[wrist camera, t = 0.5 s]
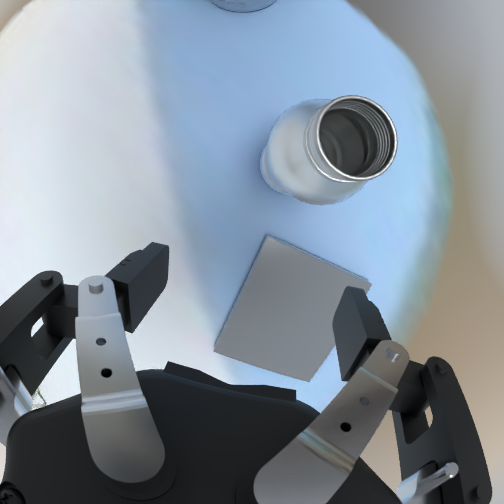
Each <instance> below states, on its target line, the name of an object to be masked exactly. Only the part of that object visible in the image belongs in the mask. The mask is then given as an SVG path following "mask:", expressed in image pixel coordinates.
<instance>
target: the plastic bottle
mask: <svg viewBox="0 0 504 504" xmlns="http://www.w3.org/2000/svg"><path fill="white" fill-rule="evenodd" d="M397 145H398V140H397V133H396V129H395V126H394V124H393V122H392V119H391V118H390V116H389V115H388V114H387V112H386V111H385V110H384V109H383V108H382V107H381V106H380V105H378V104H377V103H376V102H374V101H372V100H370V99H368V98H365V97H362V96H356V95H348V96H342V97H339V98H337V99H334V100H329V99H313V100H308V101H303V102H301V103H298V104H296V105H293V106H292V107H291V108H289V109H288V110H286V111H285V112H284V113H283V114H282V115H281V116H280V117H279V118H278V119H277V121H276V122H275V124H274V126H273V127H272V130H271V132H270V135H269V138H268V144H267V145H266V146H265V148H264V149H263V151H262V154H261V158H260V170H261V174H262V176H263V178H264V180H265V182H266V183H267V184H268V185H269V186H270V187H271V188H272V189H274V190H275V191H277V192H279V193H282V194H285V195H291V196H293V197H295V198H297V199H299V200H300V201H303V202H306V203H309V204H315V205H332V204H336V203H339V202H342V201H344V200H346V199H348V198H350V197H352V196H353V195H354V194H356V193H357V192H358V191H359V190H361V189H362V188H363V186H364V185H365V184H366V183H367V182H368V180H371V179H373V178H376V177H378V176H380V175H381V174H383V173H384V172H385V171H386V170H387V169H388V168H389V167H390V165H391V164H392V162H393V160H394V158H395V156H396V152H397Z"/></svg>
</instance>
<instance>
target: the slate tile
mask: <svg viewBox="0 0 504 504" xmlns="http://www.w3.org/2000/svg"><path fill="white" fill-rule="evenodd" d="M371 285H372V284H371V283H370V282H369V281H368V280H366V279H364V278H362V277H360V276H358V275H356V274H354V273H351V272H349V271H347V270H345V269H343V268H341V267H339V266H337V265H334V264H332V263H330V262H328V261H326V260H324V259H321V258H319V257H317V256H315V255H313V254H311V253H308V252H306V251H304V250H302V249H300V248H297V247H295V246H293V245H291V244H289V243H286V242H284V241H282V240H280V239H277V238H275V237H273V236H271V235H269V234H267V235H266V237H265V240H264V242H263V244H262V246H261V248H260V250H259V252H258V254H257V257H256V259H255V261H254V263H253V265H252V267H251V269H250V271H249V274H248V276H247V278H246V280H245V282H244V284H243V286H242V288H241V291H240V293H239V295H238V297H237V299H236V301H235V303H234V305H233V307H232V310H231V312H230V314H229V316H228V318H227V320H226V322H225V324H224V326H223V329H222V331H221V333H220V335H219V337H218V339H217V341H216V343H215V346H214V352H217V353H219V354H222V355H225V356H227V357H230V358H233V359H236V360H239V361H241V362H244V363H247V364H250V365H253V366H256V367H259V368H262V369H266V370H269V371H272V372H275V373H279V374H282V375H285V376H289V377H292V378H296V379H299V380H303V381H307V382H310V380H311V379H312V378H313V376H314V375H315V373H316V372H317V371H318V369H319V368H320V366H321V365H322V364H323V362H324V361H325V359H326V358H327V356H328V355H329V353H330V352H331V350H332V349H333V347H334V346H335V344H336V343H335V338H334V333H333V327H332V323H333V317H334V314H335V311H336V309H337V307H338V304H339V302H340V299H341V297H342V295H343V292H344V290H345V288H346V287H347V286H352V287H357V288H361V289H364V291H365V294H367V292H368V290H369V288H370V287H371Z"/></svg>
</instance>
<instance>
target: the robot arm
mask: <svg viewBox="0 0 504 504" xmlns="http://www.w3.org/2000/svg"><path fill="white" fill-rule="evenodd" d="M275 1H276V0H212V2H213V3H214V4H216V5H217V6H219V7H221V8H223V9H226V10H230V11H235V12H250V11H256V10H260V9H263V8H266V7H268V6H269V5H271V4H272V3H274V2H275ZM168 265H169V246H168V245H164V244H159V243H155V242H152V243H150V244H149V245H148V246H147V247H146V248H145V249H143V250H138V251H135V252H133V253H130V254H129V255H128V256H127V257H126V258H125V259H124V260H122V261H121V262H120V263H119V264H118V265H116V266H115V267H114V268H113V269H112V270H111V271H110V272H108V273H107V274H106V275H105V276H91V277H88V278H86V279H84V280H82V281H81V282H80V284H79V286H76V285H67V284H64V283H63V277H62V275H61V274H60V273H59V272H57V271H44V272H41V273H39V274H37V275H36V276H35V277H33V278H32V279H31V280H30V281H29V282H27V283H26V284H25V285H24V286H23V287H21V288H20V289H19V290H18V291H17V292H16V293H15V294H13V295H12V296H11V297H10V298H9V299H8V300H7V301H6V302H4V303H3V304H2V305H1V306H0V442H1V443H2V444H3V445H4V446H6V464H5V471H4V476H3V479H2V482H1V484H0V504H489V503H490V501H491V498H492V486H491V481H490V477H489V472H488V468H487V464H486V460H485V457H484V453H483V449H482V446H481V443H480V439H479V436H478V433H477V430H476V427H475V424H474V421H473V419H472V415H471V413H470V410H469V407H468V405H467V402H466V400H465V397H464V394H463V392H462V390H461V387H460V385H459V383H458V380H457V378H456V376H455V373H454V371H453V369H452V367H451V366H450V365H449V364H448V363H447V362H446V361H445V360H443V359H442V358H439V357H430V358H429V359H428V360H427V362H426V363H425V364H424V365H422V364H420V363H417V362H413V361H411V360H409V359H410V357H409V354H408V352H407V350H406V349H405V348H404V347H403V346H402V345H401V344H399V343H397V342H395V341H392V340H391V337H390V335H389V332H388V330H387V328H386V325H385V324H384V321H383V318H382V317H381V314H380V312H379V309H378V308H377V307H376V306H375V305H374V304H373V303H372V302H371V301H369V300H368V298H367V296H366V294H365V291H364V289H361V288H357V287H352V286H347V287H346V288H345V290H344V292H343V295H342V297H341V299H340V302H339V304H338V307H337V309H336V311H335V314H334V317H333V323H332V327H333V333H334V338H335V343H336V349H337V355H338V361H339V367H340V373H341V379H342V381H348V383H347V384H346V385H345V386H344V387H343V389H342V390H341V391H340V392H339V393H338V394H337V396H336V397H335V398H334V399H333V400H332V401H331V402H330V404H329V405H328V406H327V407H326V408H325V409H324V410H323V411H322V412H321V414H320V413H319V412H318V411H317V410H315V409H314V408H313V407H311V406H309V405H307V404H305V403H303V402H301V401H299V400H296V390H293V389H286V388H280V387H274V386H268V385H230V384H227V383H225V382H223V381H220V380H218V379H216V378H214V377H212V376H210V375H208V374H206V373H204V372H202V371H200V370H197V369H193V368H189V367H186V366H183V365H179V364H176V363H172V362H169V361H168V362H167V364H166V367H165V369H164V370H162V369H149V370H142V371H137V372H135V368H134V365H133V362H132V358H131V354H130V351H129V347H128V343H127V339H126V335H125V331H127V332H130V333H133V332H134V331H135V329H136V328H137V326H138V325H139V323H140V322H141V321H142V319H143V318H144V316H145V315H146V314H147V312H148V311H149V309H150V308H151V307H152V305H153V304H154V303H155V301H156V300H157V298H158V297H159V296H160V294H161V293H162V292H163V290H164V289H165V287H166V284H167V280H168ZM40 317H42V320H43V323H44V324H43V325H42V326H41V327H40V329H39V330H38V331H37V332H36V333H35V334H34V335H33V337H32V338H31V330H32V327H33V325H34V324H35V323H36V322H37V321H38V320H39V319H40ZM73 338H74V339H76V349H77V362H78V372H79V381H80V389H81V393H80V394H78V395H75V396H72V397H70V398H67V399H64V400H61V401H59V402H56V403H53V404H50V405H47V406H44V407H41V408H38V409H35V410H32V411H31V408H32V398H31V397H32V396H33V394H34V393H35V391H36V390H37V388H38V387H39V385H40V384H41V382H42V381H43V379H44V378H45V376H46V375H47V373H48V372H49V370H50V369H51V368H52V366H53V365H54V363H55V362H56V361H57V359H58V358H59V357H60V355H61V354H62V352H63V351H64V350H65V348H66V347H67V346H68V344H69V343H70V342H71V340H72V339H73ZM429 406H430V408H431V411H432V414H433V421H432V424H431V426H430V427H429V426H428V422H427V419H426V415H425V410H426V409H427V408H428V407H429ZM388 410H392V415H393V421H394V427H395V432H396V439H397V445H398V452H399V460H400V468H401V478H402V482H401V483H400V485H399V486H398V489H397V494H395V493H394V492H393V491H392V490H391V489H390V488H389V487H388V486H387V485H386V484H385V483H384V482H383V481H382V480H381V479H380V478H379V477H378V476H377V475H376V474H375V472H374V471H373V470H372V469H371V468H370V467H369V466H368V465H367V464H366V463H365V462H364V461H363V460H362V459H361V458H360V455H361V453H362V452H363V450H364V449H365V447H366V446H367V444H368V443H369V441H370V440H371V438H372V436H373V435H374V433H375V431H376V430H377V428H378V427H379V425H380V423H381V421H382V420H383V418H384V416H385V415H386V413H387V411H388Z"/></svg>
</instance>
